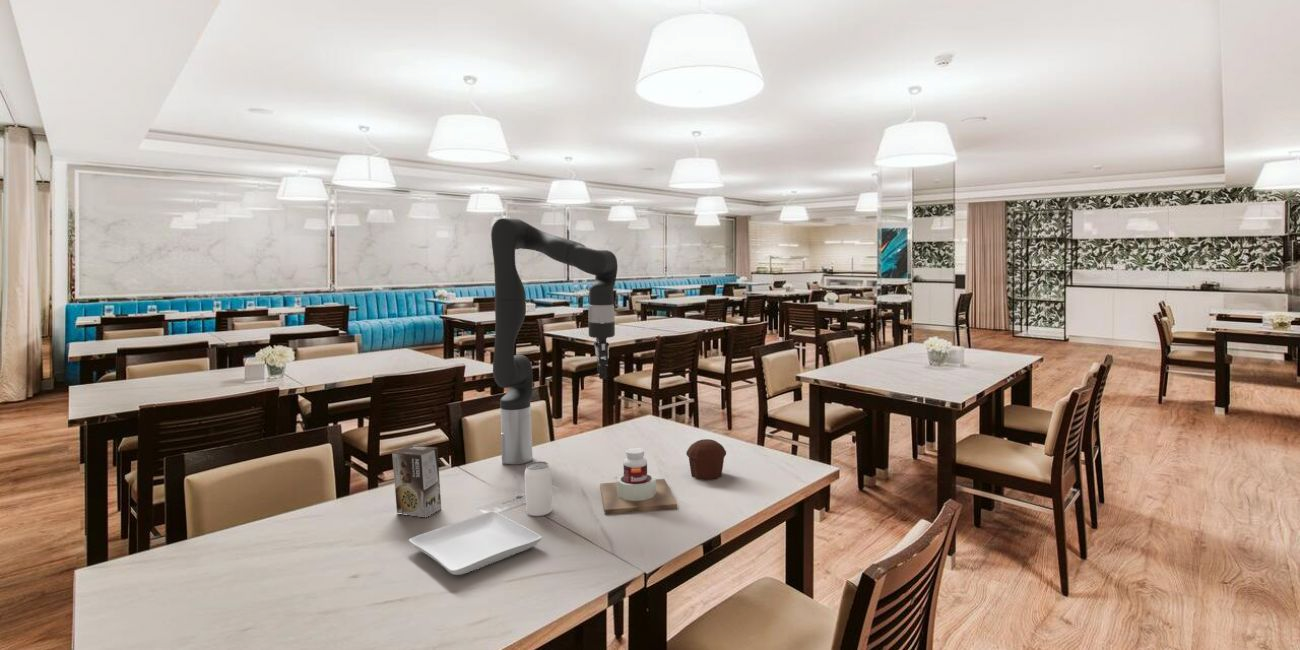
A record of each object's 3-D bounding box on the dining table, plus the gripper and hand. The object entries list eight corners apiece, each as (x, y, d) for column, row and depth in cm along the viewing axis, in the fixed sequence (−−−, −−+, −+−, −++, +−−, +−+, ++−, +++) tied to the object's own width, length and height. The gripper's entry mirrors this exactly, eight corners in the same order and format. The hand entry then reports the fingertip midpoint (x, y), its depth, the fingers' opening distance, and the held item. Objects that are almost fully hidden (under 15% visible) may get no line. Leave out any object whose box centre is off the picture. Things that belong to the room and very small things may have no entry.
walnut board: (605, 514, 148) (604, 509, 148) (600, 487, 166) (599, 483, 165) (677, 508, 151) (677, 503, 150) (664, 482, 168) (664, 478, 168)
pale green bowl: (619, 502, 152) (619, 486, 152) (615, 487, 162) (615, 473, 162) (658, 499, 154) (658, 483, 153) (652, 484, 164) (652, 470, 163)
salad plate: (493, 522, 146) (493, 508, 145) (545, 550, 131) (544, 535, 130) (407, 552, 131) (406, 537, 131) (453, 588, 116) (452, 571, 116)
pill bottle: (631, 498, 154) (630, 455, 152) (619, 490, 159) (618, 449, 158) (652, 492, 157) (651, 451, 156) (639, 485, 162) (638, 445, 161)
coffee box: (442, 508, 153) (439, 447, 152) (425, 519, 147) (421, 455, 146) (413, 504, 156) (409, 444, 155) (395, 514, 150) (391, 451, 149)
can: (527, 507, 153) (525, 461, 152) (553, 505, 154) (551, 460, 153) (524, 517, 147) (522, 470, 146) (551, 516, 147) (549, 468, 146)
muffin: (701, 484, 166) (701, 449, 165) (678, 473, 176) (678, 440, 175) (734, 476, 173) (734, 442, 172) (710, 465, 182) (710, 433, 181)
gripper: (587, 317, 180) (588, 371, 182) (589, 323, 166) (590, 381, 168) (612, 317, 181) (613, 370, 183) (616, 322, 167) (617, 380, 169)
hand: (602, 375), depth 175 cm, fingers open, 8 cm apart
